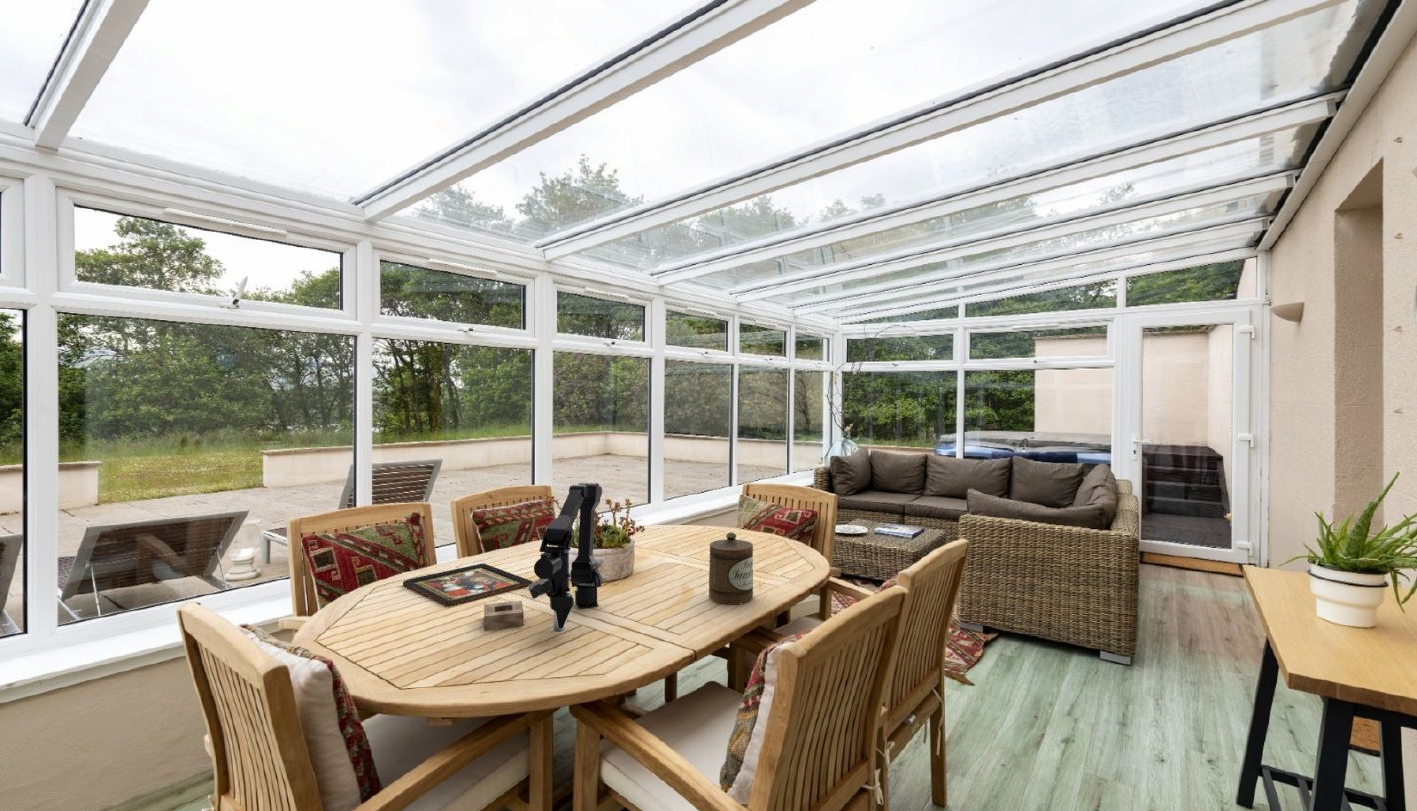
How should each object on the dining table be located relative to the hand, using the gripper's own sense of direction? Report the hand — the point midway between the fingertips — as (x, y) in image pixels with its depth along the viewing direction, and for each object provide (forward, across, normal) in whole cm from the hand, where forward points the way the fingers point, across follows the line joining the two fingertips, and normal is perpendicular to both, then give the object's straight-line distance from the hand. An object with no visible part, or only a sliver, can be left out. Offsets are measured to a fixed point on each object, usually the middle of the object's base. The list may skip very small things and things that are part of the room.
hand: (558, 622), depth 182 cm
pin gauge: (+2, 0, 0) cm, 2 cm away
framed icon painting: (+3, -54, -26) cm, 60 cm away
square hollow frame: (+2, -12, -15) cm, 19 cm away
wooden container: (+2, -10, +58) cm, 59 cm away
